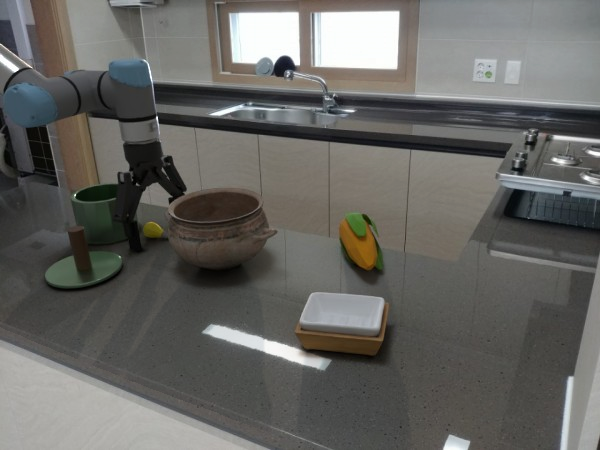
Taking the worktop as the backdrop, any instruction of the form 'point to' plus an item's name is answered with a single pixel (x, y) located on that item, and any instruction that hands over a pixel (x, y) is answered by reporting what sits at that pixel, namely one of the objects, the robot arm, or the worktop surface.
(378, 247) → the corn
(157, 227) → the light bulb
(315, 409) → the worktop surface
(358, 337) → the soap dish
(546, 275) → the worktop surface
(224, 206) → the cooking pot
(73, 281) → the tin lid
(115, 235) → the tin
